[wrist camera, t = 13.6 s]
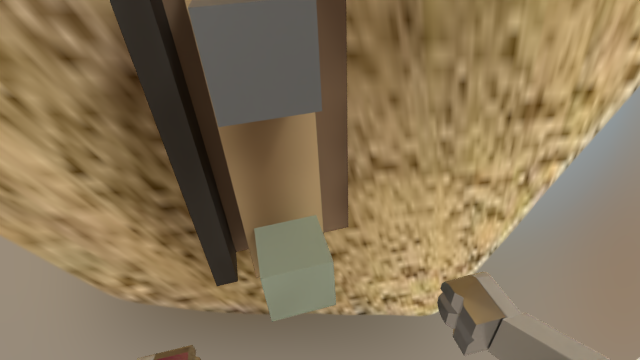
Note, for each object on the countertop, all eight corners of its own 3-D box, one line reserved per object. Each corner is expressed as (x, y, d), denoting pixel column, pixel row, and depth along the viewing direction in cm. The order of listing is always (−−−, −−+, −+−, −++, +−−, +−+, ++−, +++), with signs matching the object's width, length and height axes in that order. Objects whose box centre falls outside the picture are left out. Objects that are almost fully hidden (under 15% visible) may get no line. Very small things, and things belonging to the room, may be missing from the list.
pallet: (288, -35, 17) (305, -31, 14) (313, 225, 27) (325, 261, 24) (187, -27, 16) (179, -20, 13) (252, 238, 27) (256, 278, 23)
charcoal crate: (293, -15, 14) (315, -5, 11) (301, 79, 16) (322, 111, 13) (195, -7, 13) (187, 7, 10) (218, 90, 16) (218, 127, 12)
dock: (321, -60, 21) (366, -63, 14) (332, 193, 32) (360, 252, 26) (135, -47, 19) (93, -44, 13) (217, 215, 31) (216, 286, 24)
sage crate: (316, 214, 21) (333, 261, 18) (320, 256, 24) (336, 304, 21) (254, 228, 21) (260, 279, 18) (264, 270, 23) (272, 321, 20)
